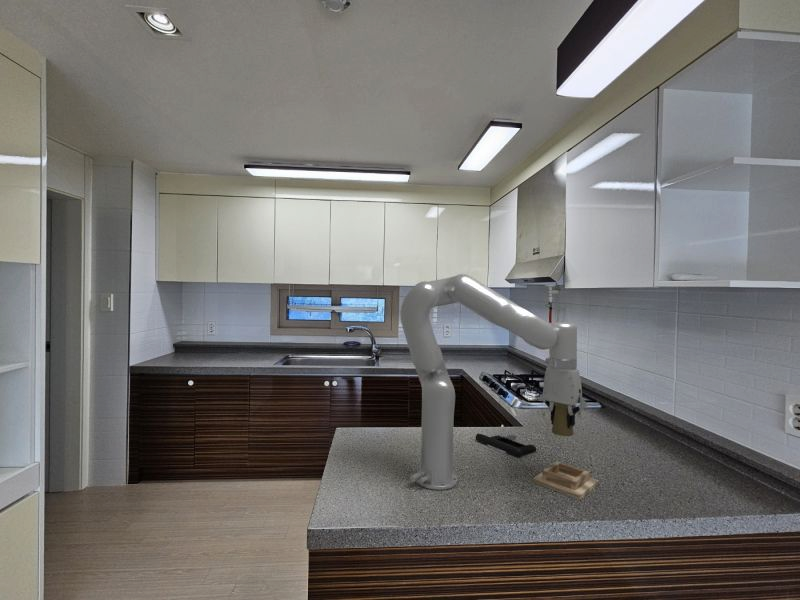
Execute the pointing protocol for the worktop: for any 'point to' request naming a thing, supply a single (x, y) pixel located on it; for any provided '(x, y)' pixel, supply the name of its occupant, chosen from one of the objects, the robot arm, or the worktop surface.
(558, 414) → the olive tall rounded piece
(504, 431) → the worktop surface
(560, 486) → the holder
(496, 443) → the door handle
